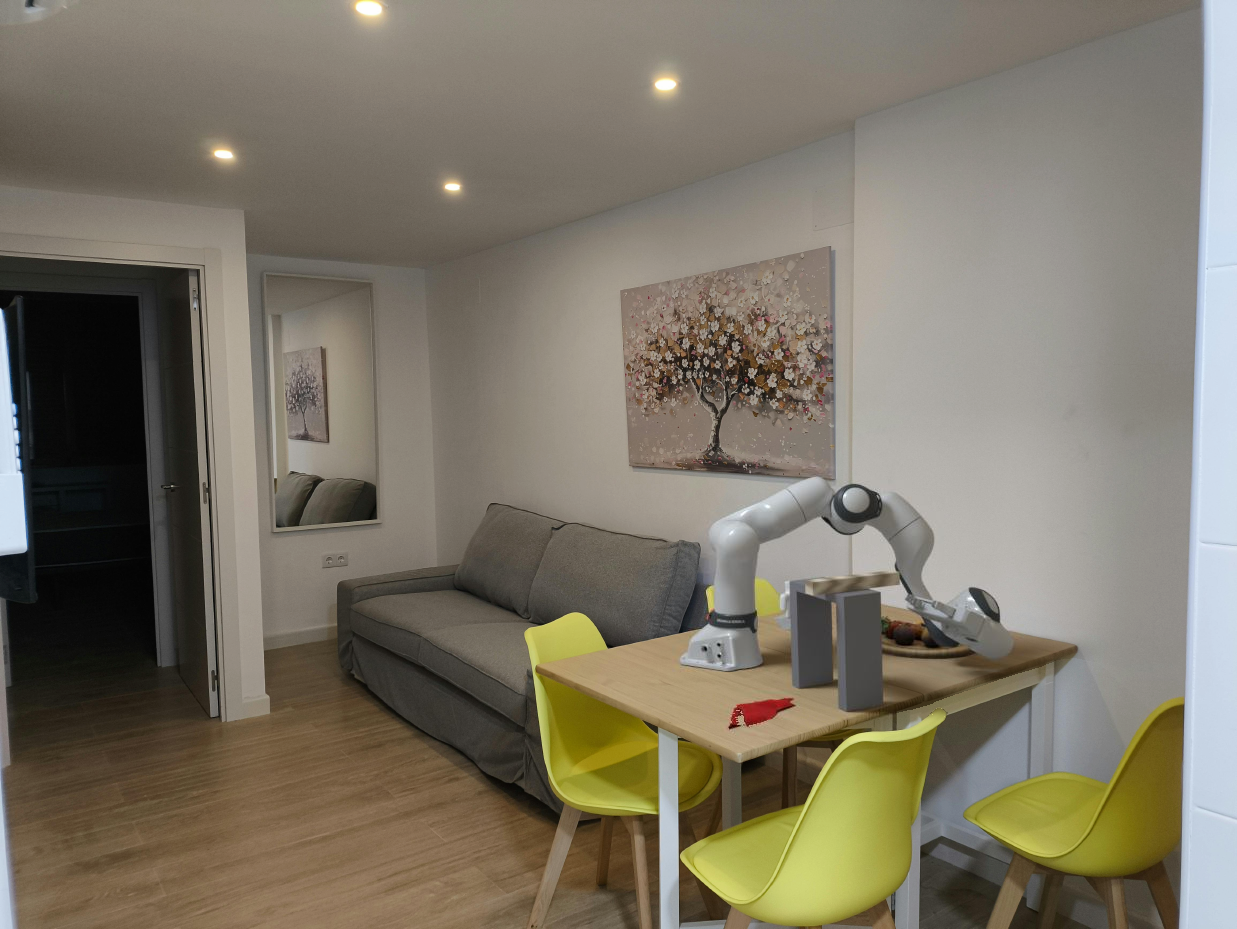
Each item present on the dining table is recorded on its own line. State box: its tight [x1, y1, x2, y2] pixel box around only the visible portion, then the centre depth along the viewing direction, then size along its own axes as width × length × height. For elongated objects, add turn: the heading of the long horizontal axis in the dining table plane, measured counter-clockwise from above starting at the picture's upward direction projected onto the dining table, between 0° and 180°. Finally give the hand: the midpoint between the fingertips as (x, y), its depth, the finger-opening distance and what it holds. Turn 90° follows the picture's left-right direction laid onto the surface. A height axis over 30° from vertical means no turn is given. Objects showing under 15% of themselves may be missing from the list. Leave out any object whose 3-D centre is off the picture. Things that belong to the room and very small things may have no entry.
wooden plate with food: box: [881, 615, 975, 660], centre depth 246 cm, size 32×32×8 cm
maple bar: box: [805, 569, 901, 596], centre depth 198 cm, size 24×3×3 cm, turn 111°
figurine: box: [774, 580, 791, 631], centre depth 269 cm, size 7×9×15 cm
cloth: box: [727, 697, 795, 729], centre depth 194 cm, size 26×14×2 cm, turn 124°
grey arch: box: [789, 576, 884, 713], centre depth 203 cm, size 10×22×26 cm, turn 21°
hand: (920, 600), depth 206 cm, fingers open, 8 cm apart
